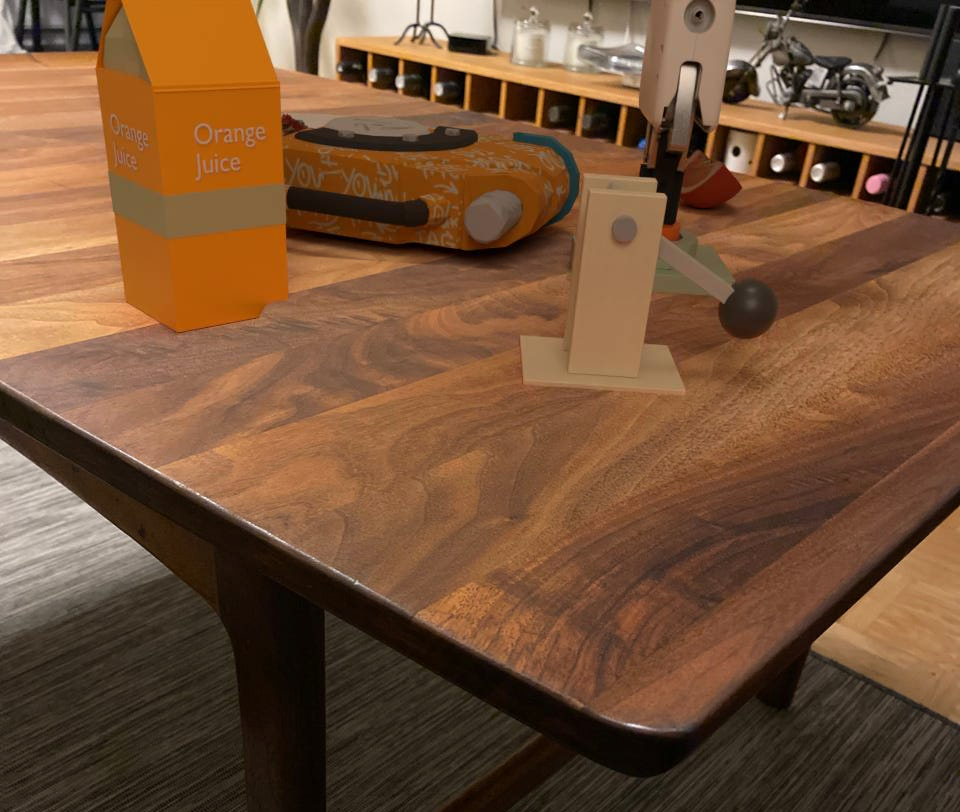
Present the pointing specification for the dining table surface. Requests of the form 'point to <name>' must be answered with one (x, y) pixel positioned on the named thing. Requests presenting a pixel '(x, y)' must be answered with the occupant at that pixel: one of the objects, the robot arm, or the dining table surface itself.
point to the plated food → (304, 121)
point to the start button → (671, 231)
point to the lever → (726, 292)
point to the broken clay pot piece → (707, 182)
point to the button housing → (675, 281)
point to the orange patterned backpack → (425, 183)
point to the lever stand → (609, 297)
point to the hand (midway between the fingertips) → (653, 220)
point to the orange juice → (194, 159)
